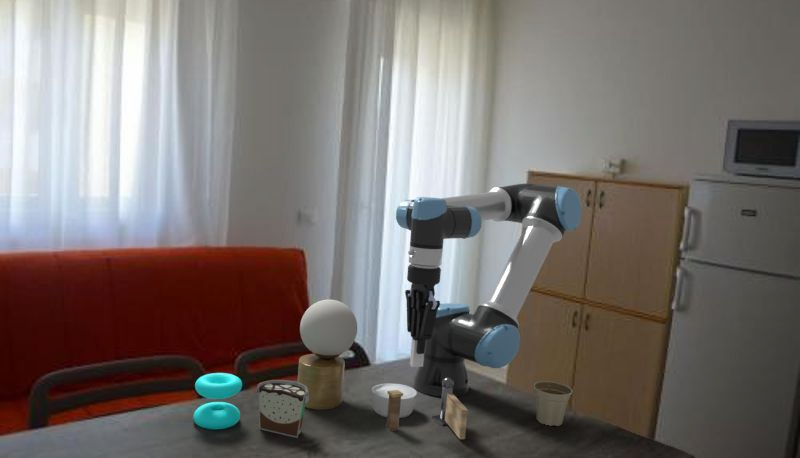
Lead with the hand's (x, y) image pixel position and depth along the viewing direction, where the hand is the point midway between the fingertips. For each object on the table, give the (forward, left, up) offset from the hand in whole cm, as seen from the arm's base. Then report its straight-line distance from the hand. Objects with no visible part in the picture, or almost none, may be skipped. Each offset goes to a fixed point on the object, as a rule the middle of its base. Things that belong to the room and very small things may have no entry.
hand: (416, 365), depth 154 cm
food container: (-7, -29, -14) cm, 33 cm away
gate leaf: (+8, +7, -13) cm, 17 cm away
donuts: (-15, -42, -14) cm, 46 cm away
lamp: (-21, -14, -14) cm, 29 cm away
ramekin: (-8, -1, -14) cm, 16 cm away
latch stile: (+1, -6, -14) cm, 15 cm away
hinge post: (+1, +8, -14) cm, 16 cm away
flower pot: (+10, +33, -14) cm, 38 cm away
